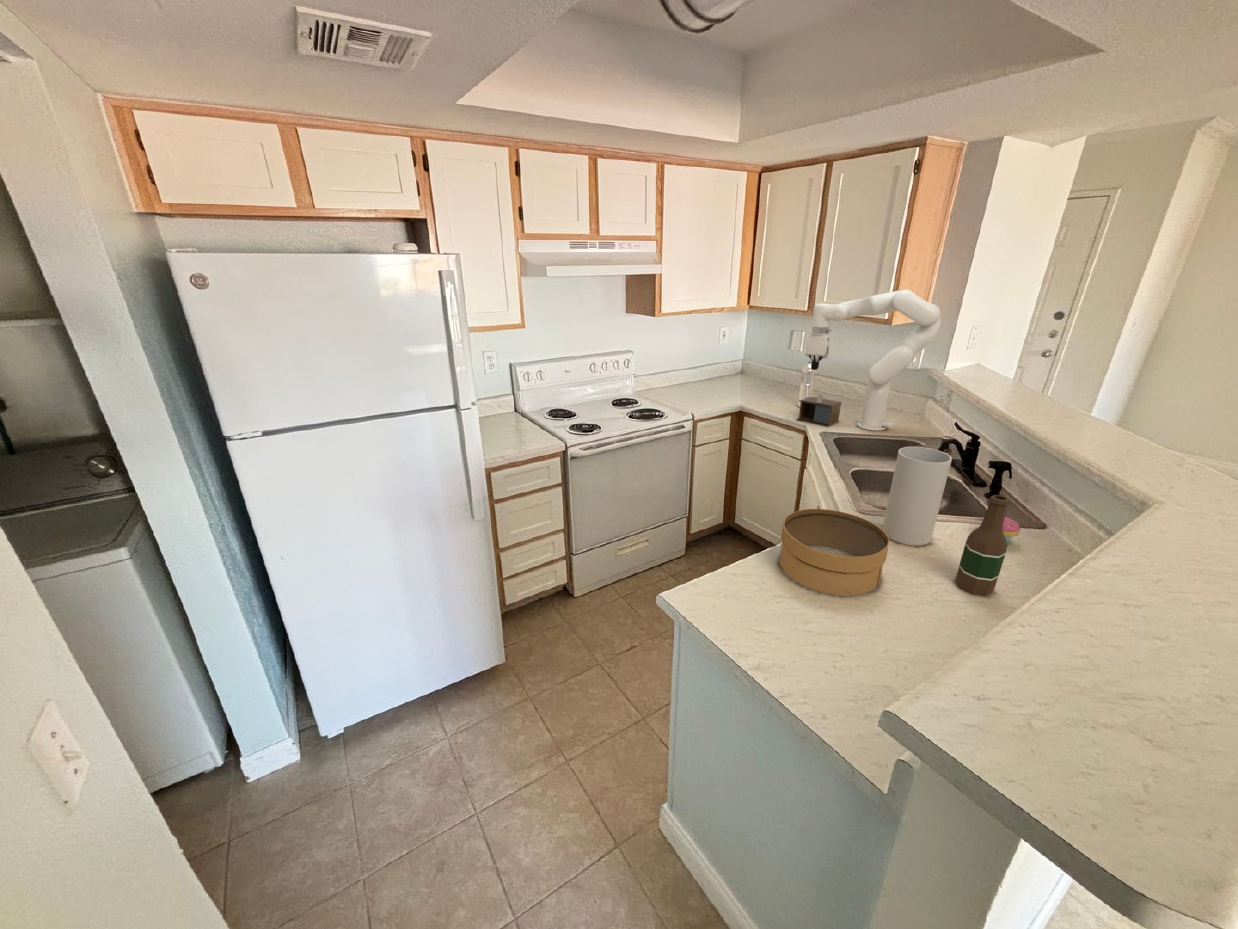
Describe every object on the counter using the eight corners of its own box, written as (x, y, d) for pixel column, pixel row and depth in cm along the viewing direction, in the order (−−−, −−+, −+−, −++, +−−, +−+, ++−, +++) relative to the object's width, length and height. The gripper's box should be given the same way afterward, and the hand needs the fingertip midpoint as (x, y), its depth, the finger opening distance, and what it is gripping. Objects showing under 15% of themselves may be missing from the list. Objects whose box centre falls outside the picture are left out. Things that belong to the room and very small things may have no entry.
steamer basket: (870, 549, 138) (878, 512, 133) (892, 605, 115) (901, 563, 111) (776, 538, 144) (781, 503, 139) (780, 589, 121) (785, 549, 117)
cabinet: (827, 426, 241) (830, 406, 237) (796, 420, 251) (799, 400, 248) (838, 421, 248) (841, 401, 245) (807, 415, 259) (810, 396, 255)
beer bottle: (952, 588, 121) (978, 499, 112) (956, 574, 126) (981, 487, 117) (992, 601, 116) (1021, 508, 107) (994, 585, 122) (1022, 495, 113)
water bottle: (808, 409, 270) (814, 362, 260) (795, 407, 274) (801, 361, 264) (812, 406, 275) (818, 360, 265) (800, 404, 279) (805, 359, 269)
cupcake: (975, 540, 141) (986, 502, 137) (982, 529, 147) (993, 492, 143) (1012, 551, 136) (1025, 512, 131) (1018, 540, 141) (1031, 502, 137)
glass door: (828, 424, 241) (833, 396, 236) (813, 421, 246) (817, 393, 241) (829, 424, 241) (833, 396, 236) (813, 420, 247) (817, 393, 241)
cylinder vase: (892, 521, 153) (909, 443, 143) (937, 536, 144) (958, 454, 134) (874, 535, 145) (890, 454, 136) (921, 552, 136) (942, 466, 127)
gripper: (838, 331, 235) (832, 370, 241) (808, 328, 245) (803, 366, 251) (831, 332, 230) (825, 372, 236) (800, 330, 240) (796, 368, 246)
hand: (814, 369), depth 244 cm, fingers closed
